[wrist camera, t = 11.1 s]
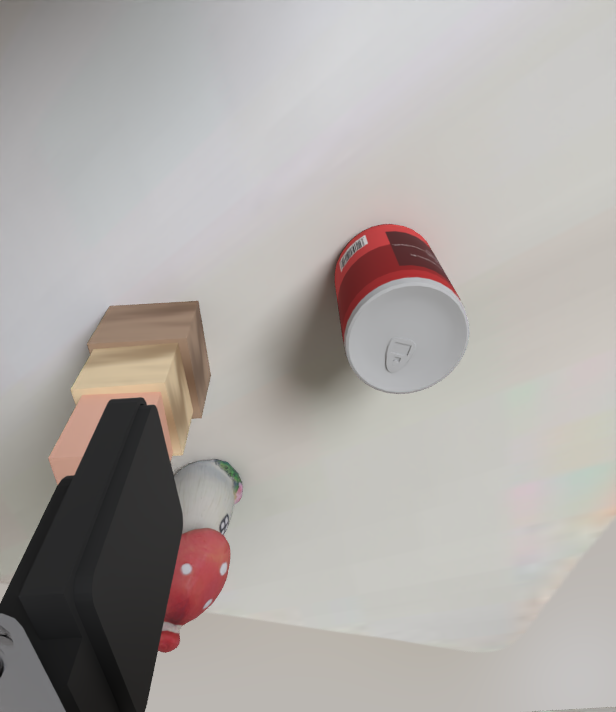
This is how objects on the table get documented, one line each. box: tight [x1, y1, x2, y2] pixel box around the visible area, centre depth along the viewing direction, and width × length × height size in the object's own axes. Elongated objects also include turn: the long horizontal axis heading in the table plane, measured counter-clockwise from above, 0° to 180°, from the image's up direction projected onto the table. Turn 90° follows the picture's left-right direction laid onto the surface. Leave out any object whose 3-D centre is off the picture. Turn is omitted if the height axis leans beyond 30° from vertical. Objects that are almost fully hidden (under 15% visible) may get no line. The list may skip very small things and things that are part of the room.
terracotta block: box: [48, 392, 173, 485], centre depth 36 cm, size 5×5×6 cm
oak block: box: [71, 343, 193, 456], centre depth 40 cm, size 6×6×5 cm
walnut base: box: [87, 301, 211, 419], centre depth 45 cm, size 7×7×6 cm
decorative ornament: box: [158, 459, 243, 653], centre depth 49 cm, size 9×7×15 cm
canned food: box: [335, 224, 469, 394], centre depth 40 cm, size 8×8×11 cm
